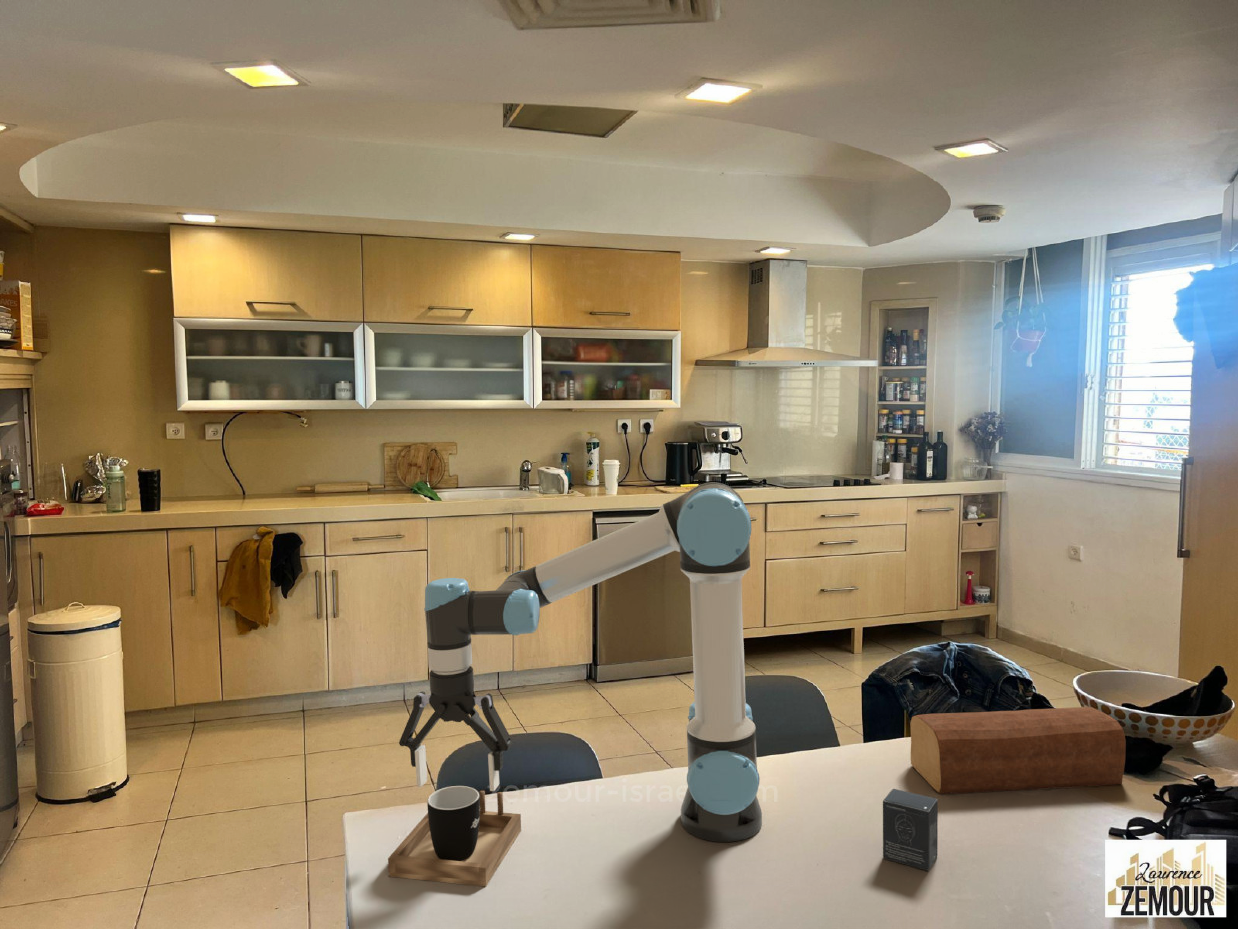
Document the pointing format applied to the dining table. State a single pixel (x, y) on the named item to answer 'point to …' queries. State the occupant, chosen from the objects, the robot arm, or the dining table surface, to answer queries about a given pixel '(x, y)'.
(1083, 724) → the bread
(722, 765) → the robot arm
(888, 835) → the box
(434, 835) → the mug
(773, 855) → the dining table surface
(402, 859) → the rack
